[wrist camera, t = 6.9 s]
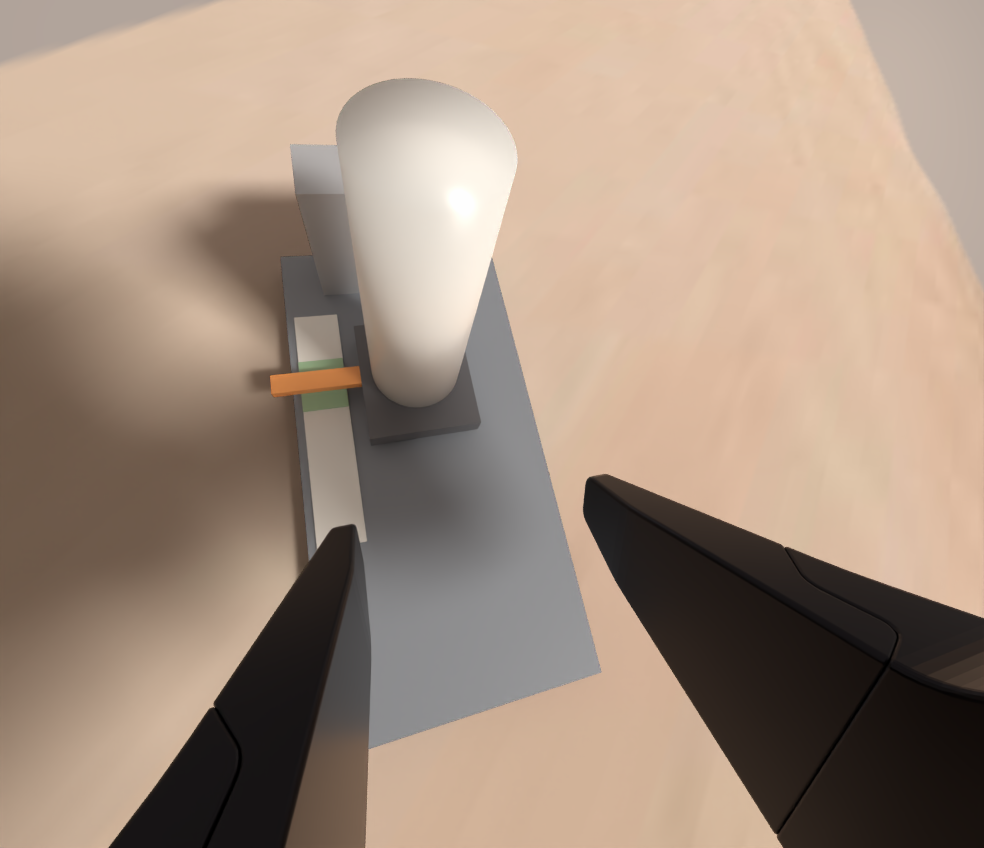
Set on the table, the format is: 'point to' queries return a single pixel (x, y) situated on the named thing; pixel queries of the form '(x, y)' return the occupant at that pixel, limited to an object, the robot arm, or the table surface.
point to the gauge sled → (417, 251)
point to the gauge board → (431, 502)
